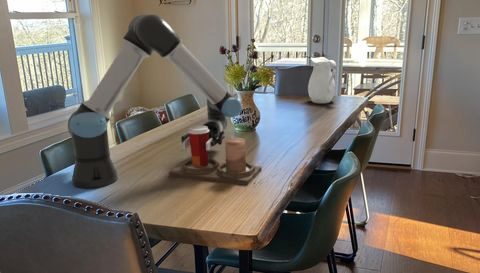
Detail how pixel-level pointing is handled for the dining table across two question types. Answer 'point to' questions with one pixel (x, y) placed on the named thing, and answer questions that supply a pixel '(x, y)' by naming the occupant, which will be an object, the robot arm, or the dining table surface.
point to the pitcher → (322, 80)
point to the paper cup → (199, 145)
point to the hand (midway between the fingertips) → (195, 146)
